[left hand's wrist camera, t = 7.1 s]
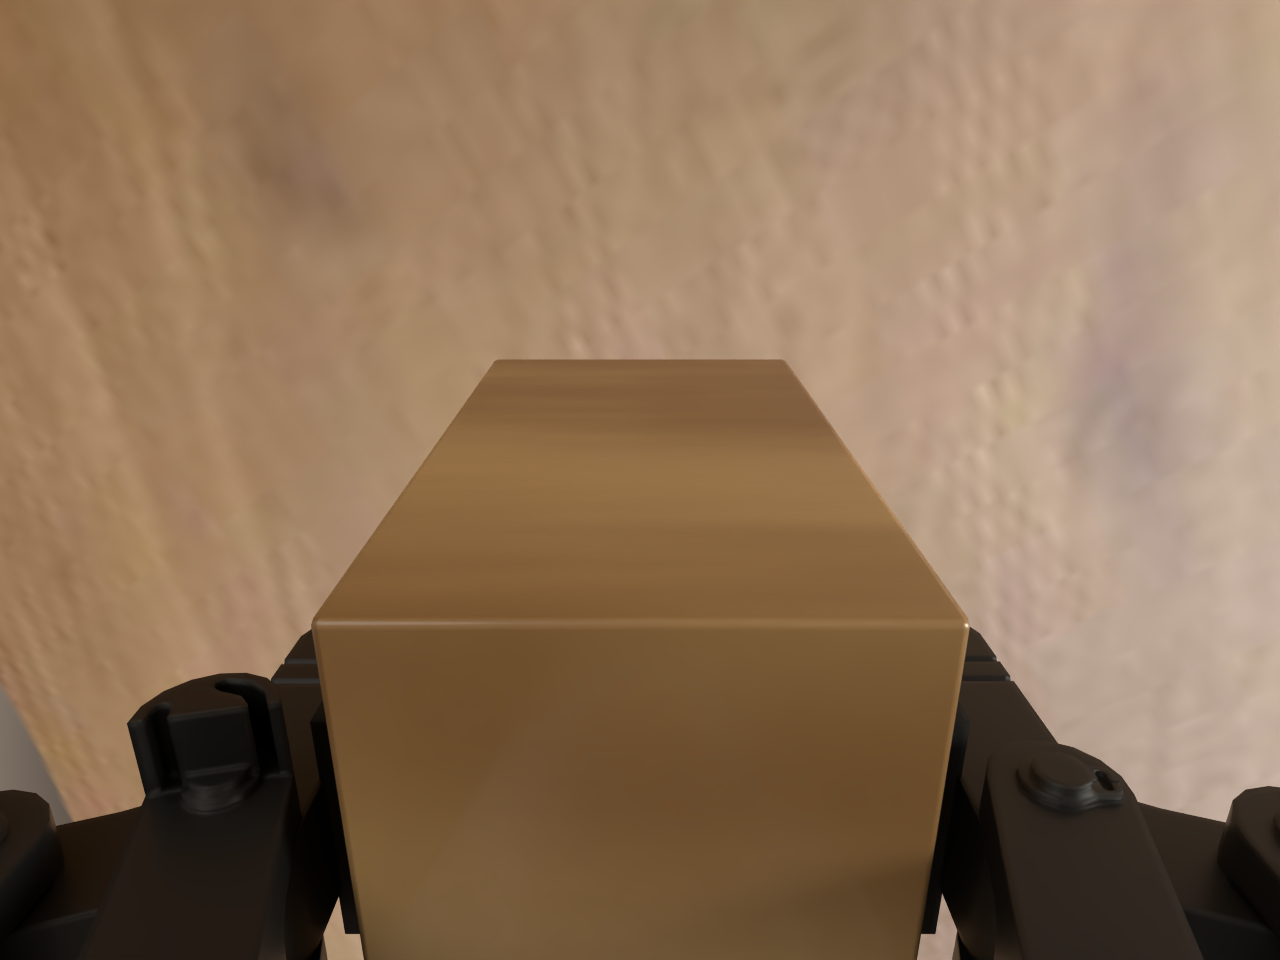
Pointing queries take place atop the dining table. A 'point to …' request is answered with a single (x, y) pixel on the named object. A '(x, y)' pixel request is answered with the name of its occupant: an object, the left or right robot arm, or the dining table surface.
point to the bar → (640, 681)
